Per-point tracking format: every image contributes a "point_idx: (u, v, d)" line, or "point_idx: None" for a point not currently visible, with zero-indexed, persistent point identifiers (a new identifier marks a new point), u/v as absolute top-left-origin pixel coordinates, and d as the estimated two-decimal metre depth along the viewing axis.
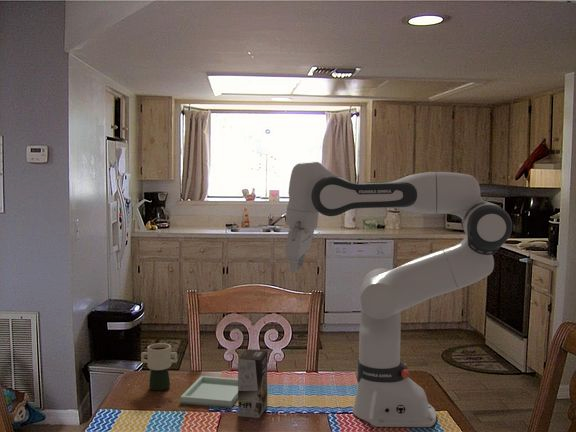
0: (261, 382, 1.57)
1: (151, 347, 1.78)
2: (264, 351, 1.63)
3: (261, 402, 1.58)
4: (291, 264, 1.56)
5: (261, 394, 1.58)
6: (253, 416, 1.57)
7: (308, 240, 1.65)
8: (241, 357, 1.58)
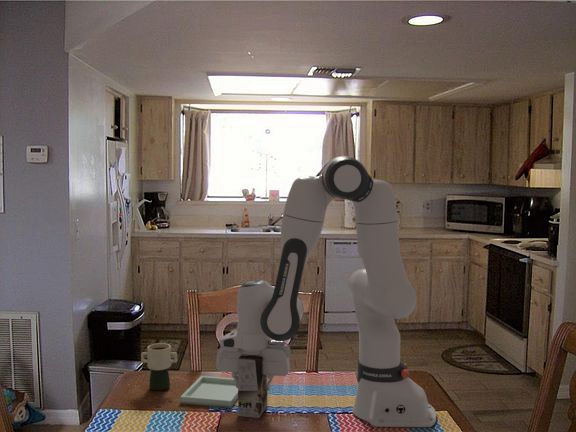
0: (261, 382, 1.57)
1: (151, 347, 1.78)
2: None
3: (261, 402, 1.58)
4: (270, 382, 1.59)
5: (261, 394, 1.58)
6: (253, 416, 1.57)
7: None
8: (241, 356, 1.58)
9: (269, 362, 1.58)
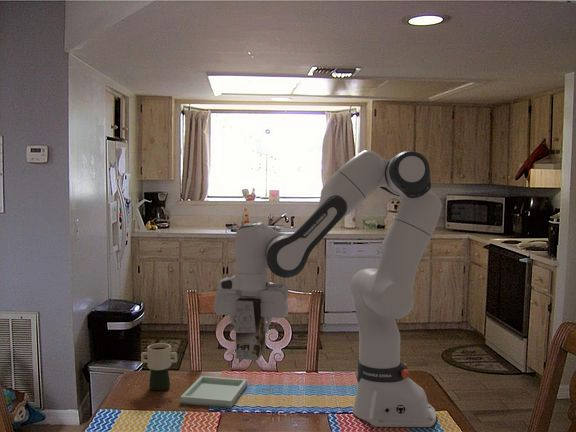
0: (259, 324, 1.56)
1: (151, 347, 1.78)
2: None
3: (259, 344, 1.57)
4: (268, 325, 1.58)
5: (259, 336, 1.57)
6: (251, 358, 1.56)
7: None
8: (239, 299, 1.57)
9: (267, 304, 1.57)
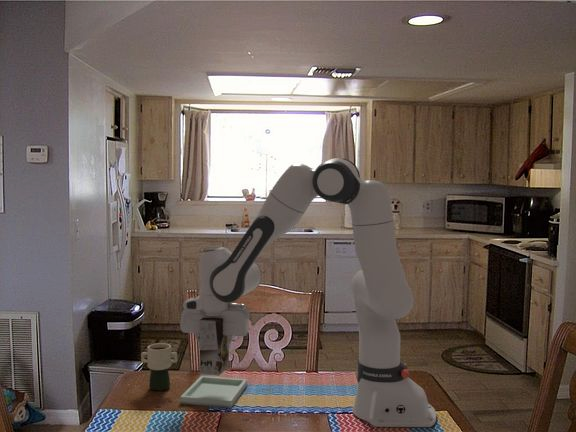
0: (221, 342, 1.68)
1: (151, 347, 1.78)
2: None
3: (221, 361, 1.69)
4: (230, 342, 1.70)
5: (221, 353, 1.68)
6: (213, 374, 1.68)
7: None
8: (203, 318, 1.69)
9: (229, 323, 1.68)
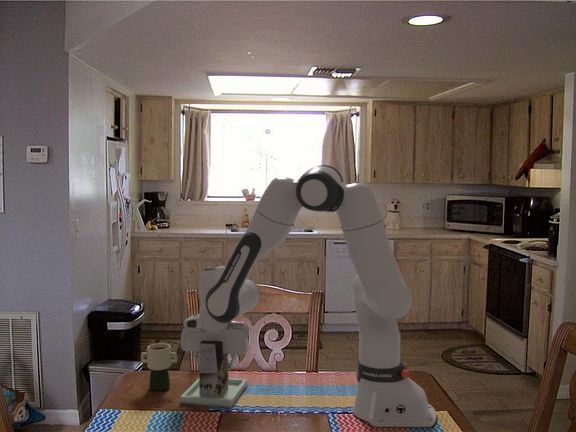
0: (221, 365, 1.69)
1: (151, 347, 1.78)
2: None
3: (221, 384, 1.69)
4: (233, 361, 1.70)
5: (221, 376, 1.69)
6: (213, 397, 1.68)
7: None
8: (203, 341, 1.69)
9: (229, 341, 1.69)
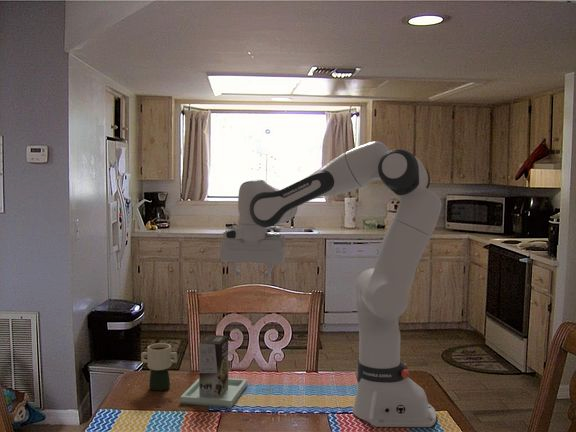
0: (221, 365, 1.69)
1: (151, 347, 1.78)
2: (225, 336, 1.74)
3: (221, 384, 1.69)
4: (270, 270, 1.79)
5: (221, 376, 1.69)
6: (213, 397, 1.68)
7: None
8: (202, 341, 1.69)
9: (266, 251, 1.78)
